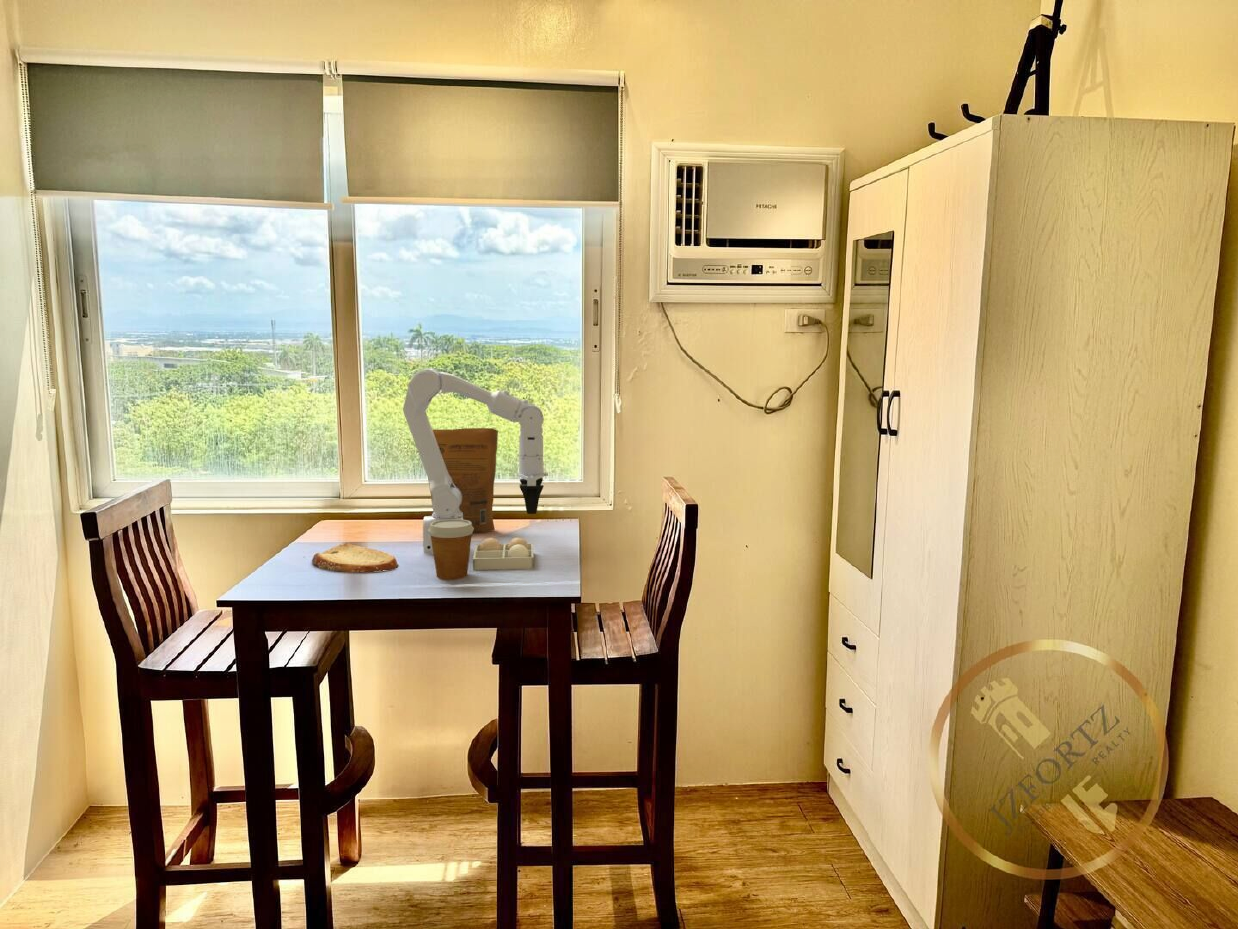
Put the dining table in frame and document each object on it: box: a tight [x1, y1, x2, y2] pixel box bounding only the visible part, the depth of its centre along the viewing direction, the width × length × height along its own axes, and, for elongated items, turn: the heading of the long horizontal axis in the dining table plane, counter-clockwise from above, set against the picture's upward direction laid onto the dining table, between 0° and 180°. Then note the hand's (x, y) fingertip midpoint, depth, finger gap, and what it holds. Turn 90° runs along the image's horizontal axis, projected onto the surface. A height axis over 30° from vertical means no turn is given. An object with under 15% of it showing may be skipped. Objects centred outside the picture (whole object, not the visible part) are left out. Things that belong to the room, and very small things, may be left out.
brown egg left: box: [480, 537, 501, 551], centre depth 186 cm, size 5×5×5 cm
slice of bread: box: [311, 542, 400, 573], centre depth 182 cm, size 18×18×4 cm
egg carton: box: [472, 542, 534, 571], centre depth 183 cm, size 13×13×3 cm
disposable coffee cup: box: [428, 519, 474, 581], centre depth 171 cm, size 10×10×12 cm
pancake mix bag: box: [427, 427, 499, 534], centre depth 213 cm, size 7×19×28 cm, turn 92°
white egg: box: [508, 544, 529, 558], centre depth 180 cm, size 5×5×5 cm
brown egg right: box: [508, 537, 528, 550], centre depth 187 cm, size 5×5×5 cm
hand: (531, 510), depth 194 cm, fingers open, 7 cm apart
